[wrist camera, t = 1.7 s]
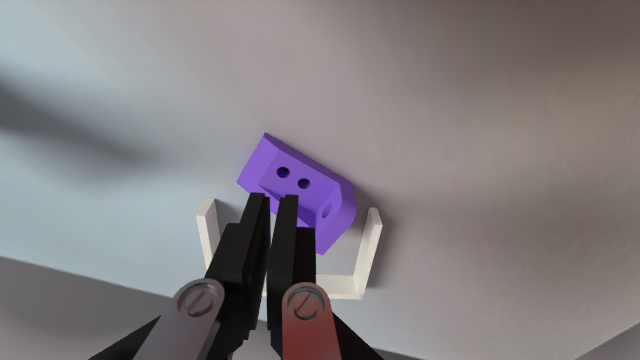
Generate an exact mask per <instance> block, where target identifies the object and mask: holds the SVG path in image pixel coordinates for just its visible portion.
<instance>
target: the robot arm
mask: <svg viewBox="0 0 640 360" xmlns="http://www.w3.org/2000/svg"><path fill="white" fill-rule="evenodd" d="M298 200H299V195H292V194H286V195H285V198H284V197H280V201H279V206H278V212H277V217H276V222H275V228H274V233H273V238H272V244H271V233H270V197H267V196H265V193H258V192H251V193H250V196H249V198H248V201H247V204H246V207H245V209H244V212H243V215H242V218H241V220H240V223H239V224H238V223H228V224H227V225H226V227H225V230H224V232H223V234H222V237H221V239H220V242H219V244H218V246H217V249H216V251H215V253H214V256H213V258H212V260H211V263H210V265H209V268H208V270H207V272H206V275H205V277H204V278H202V279H198V280H194V281H192V282H190V283H188V284H186V285H185V286H183V287H182V288H181V289H180V290H179V291H178V292H177V293H176V294H175V295H174V297H173V299H172V300H171V302H170V303H169V305H168V306H167V308H166V309H165V311H164V312H163V314H162V315H160V316H159V317H157V318H156V319H154V320H152V321H151V322H149V323H147V324H146V325H144V326H142V327H141V328H139V329H137V330H136V331H134V332H132V333H131V334H129V335H128V336H126V337H124V338H123V339H121V340H119V341H118V342H116V343H114V344H113V345H111V346H109V347H108V348H106V349H104V350H103V351H101V352H99V353H98V354H96V355H95V356H93V357H91V358H90V359H88V360H232V357H233V352H234V351H235V350H237V349H238V348H239V347H240V346H241V345H242V344H243V340H248V337H249V332H250V330H255V329H256V325H257V319H258V314H259V309H260V303H261V298H262V292H263V287H264V282H265V276H266V292H267V328H268V330H271V346H272V347H273V349H274V350H275V351H276V352H277V353H278V355H279V356H280V357H281V360H384V359H383V358H382V357H381V356H380V355H378V354H377V353H376V352H375V351H374V350H373V349H372V348H371V347H370V346H369V345H368V344H367V343H366V342H364V341H363V340H362V339H361V338H360V337H359V336H358V335H357V334H356V333H355V332H354V331H353V330H351V329H350V328H349V327H348V326H347V325H346V324H345V323H344V322H343V321H342V320H341V319H340V318H339V317H337V316H336V315H335V314H334V313H333V312H332V309H331V304H330V300H329V297H328V294H327V293H326V292H325V290H324V289H323V288H321V287H320V286H319V285H317V284H316V236H315V227H297V218H298ZM270 247H271V249H270ZM266 271H267V274H266Z"/></svg>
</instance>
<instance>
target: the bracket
mask: <svg viewBox="0 0 640 360" xmlns="http://www.w3.org/2000/svg"><path fill="white" fill-rule="evenodd" d="M279 167H286V168H288V169H289V171H281V170H279V169H278V168H279ZM302 178H306V179H308V180H309V181H308V182H302V181H300V179H302ZM236 183H238V184H239V185H240V186H241V187H242V188H244V189H245V190H246V191H247V192H248V193H251V192H258V193H265V196H267V197H270V211H272V212H273V213H274V214H275V215H276V216H277V212H278V206H279V201H280V197H284V198H285V195H286V194H292V195H299V200H298V218H297V227H315V236H316V253H318V254H320V255H323V254H324V253H325V252H326V251H327V250H328V249H329V248H330V247H331V246H332V245H333V244H334V242H335V241H336V240H337V239H338V238H339V237H340V236H341V235H342V234H343V233H344V232H345V231H346V230H347V228H348V227H349V226H350V225H351V224H352V222H353V221H354V219H355V216H356V213H357V203H356V199H355V195H354V191H353V187H352V182H350V181H348V180H347V179H345V178H343V177H341V176H340V175H338V174H336V173H334V172H333V171H331V170H329V169H327V168H326V167H324V166H322V165H321V164H319V163H317V162H315V161H314V160H312V159H310V158H308V157H307V156H305V155H303V154H301V153H300V152H298V151H296V150H294V149H293V148H291V147H289V146H288V145H286V144H284V143H282V142H281V141H279V140H277V139H275V138H274V137H272V136H270V135H268V134H267V133H265V134H264V135H263V137H262V139H261V140H260V142H259V144H258V146H257V147H256V149H255V151H254V152H253V154H252V156H251V158H250V159H249V161H248V163H247V164H246V166H245V168H244V170H243V171H242V173H241V175H240V176H239V178H238V180H237V182H236Z"/></svg>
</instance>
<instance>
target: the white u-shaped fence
mask: <svg viewBox="0 0 640 360" xmlns="http://www.w3.org/2000/svg"><path fill="white" fill-rule="evenodd" d="M196 218H197V223H198V228H199V233H200V238H201V243H202V248H203V253H204V258H205V263H206V268H207V270H208V268H209V265H210V263H211V260H212V258H213V256H214V253H215V251H216V249H217V246H218V244H219V242H220V232H219V225H218V218H217V212H216V205H215V198H206V200H205V201H204V203H203V205H202V206H201V208H200V210H199V211H198V213H197V215H196ZM382 226H383V225H382V222H381V219H380V216H379V213H378V210H377V208H374V207H369V210H368V215H367V219H366V224H365V228H364V232H363V237H362V241H361V245H360V250H359V254H358V258H357V263H356V267H355V271H354V275H333V274H316V284H317V285H319V286H320V287H321V288H323V289H324V290H325V292H326V293H327V294H328V297H329V298H335V299H363V295H364V291H365V288H366V284H367V280H368V277H369V273H370V270H371V266H372V262H373V259H374V255H375V251H376V248H377V244H378V240H379V237H380V233H381V230H382ZM266 274H267V272H266ZM262 296H267V292H266V276H265V282H264V287H263V292H262Z"/></svg>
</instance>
